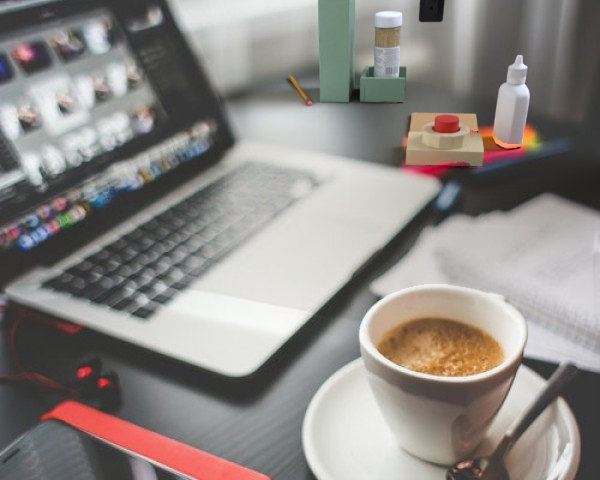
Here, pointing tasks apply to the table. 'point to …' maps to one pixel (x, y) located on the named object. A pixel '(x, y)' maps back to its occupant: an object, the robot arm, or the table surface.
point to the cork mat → (424, 118)
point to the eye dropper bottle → (512, 105)
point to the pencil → (300, 90)
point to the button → (446, 124)
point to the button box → (444, 147)
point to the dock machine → (348, 59)
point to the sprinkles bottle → (387, 43)
